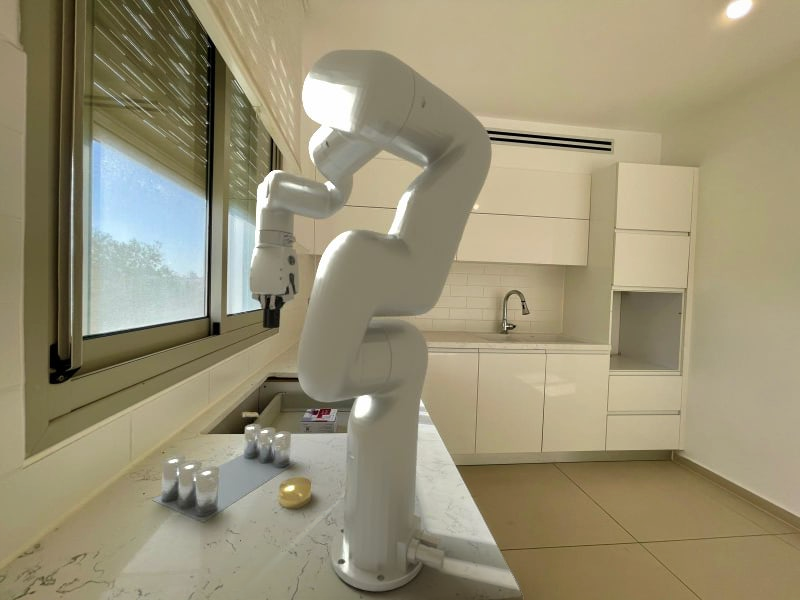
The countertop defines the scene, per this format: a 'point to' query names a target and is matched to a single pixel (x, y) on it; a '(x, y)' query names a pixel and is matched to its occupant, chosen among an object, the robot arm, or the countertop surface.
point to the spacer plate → (234, 483)
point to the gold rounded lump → (295, 492)
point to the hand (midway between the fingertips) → (271, 327)
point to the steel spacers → (203, 484)
